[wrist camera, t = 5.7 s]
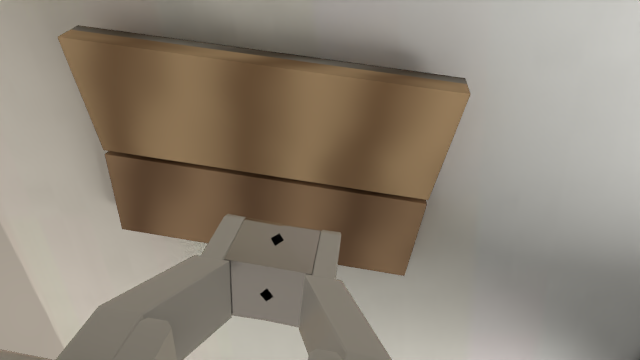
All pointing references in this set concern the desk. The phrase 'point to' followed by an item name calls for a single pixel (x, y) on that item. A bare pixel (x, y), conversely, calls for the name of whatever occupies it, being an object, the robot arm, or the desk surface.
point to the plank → (266, 110)
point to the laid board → (263, 207)
